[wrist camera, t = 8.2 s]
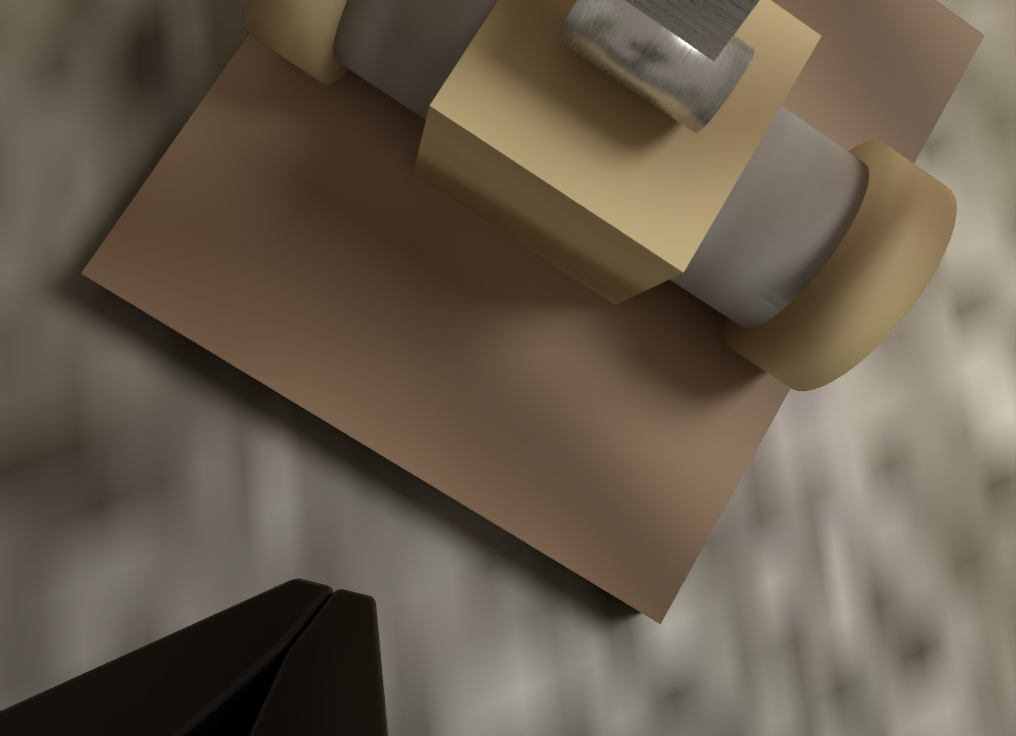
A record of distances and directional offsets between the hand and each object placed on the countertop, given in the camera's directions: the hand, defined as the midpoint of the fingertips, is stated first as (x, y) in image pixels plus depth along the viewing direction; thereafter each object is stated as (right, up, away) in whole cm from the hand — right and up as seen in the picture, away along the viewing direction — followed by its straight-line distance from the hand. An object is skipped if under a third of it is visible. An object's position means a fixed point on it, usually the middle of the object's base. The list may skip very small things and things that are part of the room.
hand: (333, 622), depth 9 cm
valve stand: (+3, +7, +12) cm, 15 cm away
